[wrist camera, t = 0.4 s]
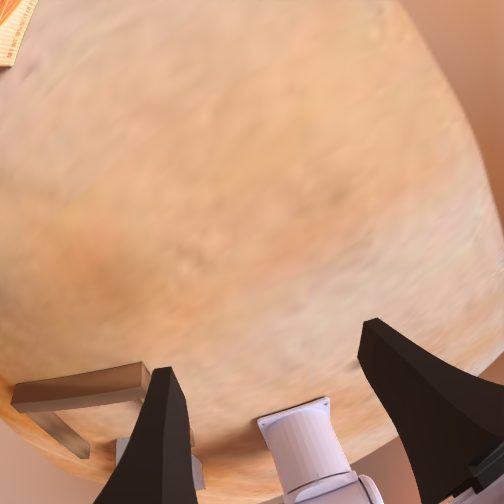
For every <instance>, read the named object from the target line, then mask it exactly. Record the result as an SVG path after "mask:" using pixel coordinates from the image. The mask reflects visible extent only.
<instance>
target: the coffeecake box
mask: <svg viewBox="0 0 504 504" xmlns="http://www.w3.org/2000/svg"><path fill="white" fill-rule="evenodd" d="M37 2H38V0H0V66H10V67H12V66H13V64H14V61H15V58H16V55H17V52H18V49H19V46H20V44H21V41H22V38H23V35H24V33H25V30H26V27H27V25H28V23H29V20H30V18H31V15H32V13H33V11H34V8H35V6H36V4H37Z"/></svg>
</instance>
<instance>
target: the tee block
mask: <svg viewBox="0 0 504 504" xmlns="http://www.w3.org/2000/svg"><path fill="white" fill-rule="evenodd" d="M129 439H130V438H121V439H117V444H116V466H117V464H118V462H119V461H120V459H121V457H122V455H123V453H124V450H125V448H126V446H127V444H128V442H129ZM191 458H192V472H193V481H194V487H195V490H202V489H206V488H205V482H204V477H203V470H202V464H201V462H200V461H199V460H198V459H197V458H196V457H195V456H194V455H193V454H191Z"/></svg>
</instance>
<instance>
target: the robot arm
mask: <svg viewBox="0 0 504 504" xmlns="http://www.w3.org/2000/svg"><path fill="white" fill-rule="evenodd" d="M357 358H358V360H359V363H360V365H361V367H362V370H363V372H364V374H365V376H366V378H367V380H368V382H369V383H370V385H371V387H372V388H373V390H374V392H375V393H376V395H377V397H378V398H379V400H380V402H381V403H382V405H383V406H384V408H385V410H386V411H387V413H388V415H389V416H390V418H391V420H392V422H393V423H394V425H395V427H396V429H397V432H398V434H399V436H400V438H401V441H402V443H403V446H404V448H405V451H406V453H407V456H408V458H409V461H410V464H411V467H412V470H413V473H414V476H415V479H416V483H417V486H418V490H419V494H420V498H421V503H422V504H439V503H440V502H442V501H444V500H445V499H447V498H448V497H450V496H452V495H453V497H454V499H453V500H451V501H450V502H448V503H447V504H504V386H503V385H500V384H496V383H493V382H490V381H487V380H484V379H481V378H479V377H476V376H473V375H471V374H469V373H466V372H464V371H462V370H460V369H458V368H456V367H454V366H452V365H450V364H448V363H446V362H444V361H442V360H441V359H439V358H437V357H436V356H434V355H432V354H431V353H429V352H427V351H426V350H424V349H423V348H421V347H419V346H418V345H416V344H415V343H413V342H412V341H410V340H409V339H408V338H406V337H405V336H403V335H402V334H400V333H399V332H397V331H396V330H395V329H393V328H392V327H390V326H389V325H387V324H386V323H385V322H383V321H382V320H380V319H379V318H374V319H371V320H368V321H365V322H364V323H363V329H362V334H361V340H360V345H359V350H358V355H357ZM257 424H258V426H259V428H260V431H261V433H262V435H263V437H264V440H265V442H266V444H267V446H268V449H269V451H270V452H271V453H272V456H273V459H274V462H275V466H276V469H277V472H278V475H279V479H280V482H281V485H282V488H283V491H284V495H283V496H282V498H283V501H284V503H280V504H384V503H383V500H382V497H381V495H380V493H379V491H378V489H377V487H376V485H375V483H374V482H373V480H372V479H371V478H370V477H368V476H365V475H363V474H362V475H359V476H357V475H356V472H355V471H351V468H350V466H349V464H348V462H347V459H346V457H345V455H344V453H343V450H342V448H341V446H340V444H339V441H338V439H337V437H336V435H335V432H334V430H333V428H332V426H331V423H330V400H329V397H324V398H321V399H318V400H315V401H313V402H310V403H307V404H304V405H301V406H298V407H295V408H292V409H289V410H285V411H282V412H279V413H276V414H272V415H269V416H265V417H262V418H259V419H258V420H257ZM93 504H198V501H197V497H196V492H195V487H194V481H193V472H192V458H191V442H190V425H189V417H188V411H187V405H186V399H185V396H184V394H183V392H182V390H181V388H180V385H179V383H178V381H177V379H176V376H175V374H174V372H173V369H172V367H171V366H170V367H163V368H157V369H154V370H153V372H152V376H151V380H150V383H149V387H148V390H147V393H146V397H145V400H144V403H143V406H142V408H141V411H140V414H139V417H138V420H137V422H136V425H135V427H134V430H133V432H132V434H131V437H130V439H129V442H128V444H127V446H126V448H125V450H124V453H123V455H122V457H121V459H120V461H119V462H118V464H117V466H116V468H115V470H114V472H113V473H112V475H111V477H110V479H109V480H108V482H107V484H106V485H105V487H104V488H103V490H102V491H101V493H100V494H99V496H98V497H97V499H96V500H95V501H94V503H93Z"/></svg>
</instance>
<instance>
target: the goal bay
mask: <svg viewBox="0 0 504 504" xmlns="http://www.w3.org/2000/svg"><path fill="white" fill-rule="evenodd" d="M150 380H151V374H150V373H149V371H148V370H147V368H146V367H145V365H144V364H143V362H139V363H135V364H130V365H125V366H121V367H116V368H111V369H106V370H101V371H95V372H90V373H85V374H79V375H73V376H68V377H62V378H55V379H49V380H42V381H36V382H29V383H21V384H16V387H15V390H14V394H13V397H12V400H11V405H12V406H13V407H14V408H15V409H16V410H17V411H18V412H19V413H26V414H27V415H28V416H29V417H30V418H31V419H32V420H33V421H35V422H36V423H37V424H38V425H39V426H40V427H41V428H42V429H44V430H45V431H46V432H47V433H48V434H50V435H51V436H52V437H53V438H54V439H56V440H57V441H58V442H59V443H61V444H62V445H63V446H64V447H66V448H67V449H68V450H70V451H71V452H72V453H74V454H75V455H76V456H78V457H79V458H80V459H89V454H90V444H89V443H87V442H86V441H85V440H84V439H83V438H81V437H80V436H79V435H78V434H77V433H75V432H74V431H73V430H72V429H71V428H70V427H69V426H67V425H66V424H65V423H64V422H63V421H62V420H61V419H60V418H59V417H58V416H57V415H55V414H54V413H53V412H52V411H57V410H67V409H76V408H85V407H92V406H100V405H107V404H113V403H119V402H126V401H131V400H137V399H140V400H141V401H142V402H143V403H144V400H145V397H146V393H147V390H148V387H149V383H150ZM190 442H191V447H195V443H194V436H193V431H192V429H191V428H190Z"/></svg>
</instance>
